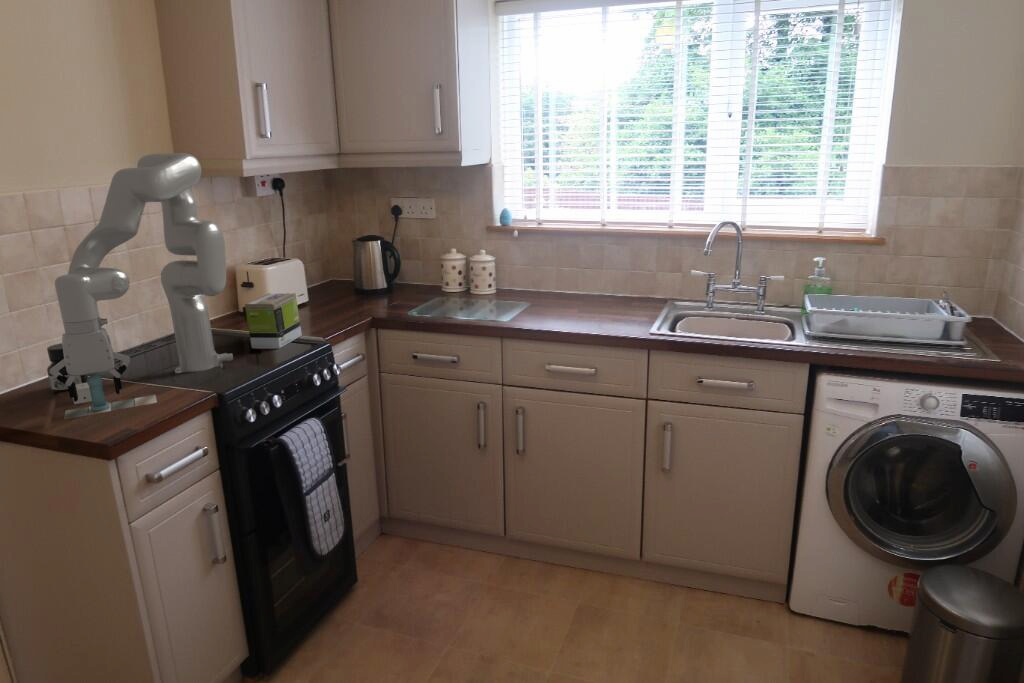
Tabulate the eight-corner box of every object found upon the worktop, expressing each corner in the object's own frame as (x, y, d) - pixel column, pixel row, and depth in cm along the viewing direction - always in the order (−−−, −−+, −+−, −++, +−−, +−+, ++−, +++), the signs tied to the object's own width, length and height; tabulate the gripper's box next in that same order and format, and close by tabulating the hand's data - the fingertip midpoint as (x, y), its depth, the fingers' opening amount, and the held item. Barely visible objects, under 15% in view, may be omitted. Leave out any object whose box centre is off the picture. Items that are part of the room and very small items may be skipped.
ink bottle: (43, 394, 192) (33, 351, 189) (62, 383, 201) (53, 342, 197) (79, 393, 192) (70, 350, 189) (97, 382, 201) (89, 340, 197)
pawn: (109, 404, 179) (103, 371, 176) (109, 409, 175) (102, 375, 173) (91, 407, 177) (84, 374, 175) (90, 412, 174) (83, 378, 171)
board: (156, 399, 185) (155, 394, 185) (158, 407, 179) (157, 402, 179) (66, 415, 176) (65, 410, 176) (64, 424, 170) (63, 419, 170)
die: (97, 399, 187) (93, 380, 186) (98, 405, 183) (94, 386, 181) (75, 403, 185) (70, 384, 183) (74, 409, 180) (70, 390, 179)
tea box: (274, 335, 242) (269, 292, 237) (302, 336, 239) (297, 292, 235) (250, 348, 227) (243, 302, 223) (279, 349, 225) (273, 303, 221)
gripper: (124, 317, 178) (136, 385, 182) (40, 328, 170) (56, 398, 175) (124, 324, 171) (137, 393, 176) (38, 335, 163) (54, 408, 168)
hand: (97, 395), depth 175 cm, fingers open, 8 cm apart
